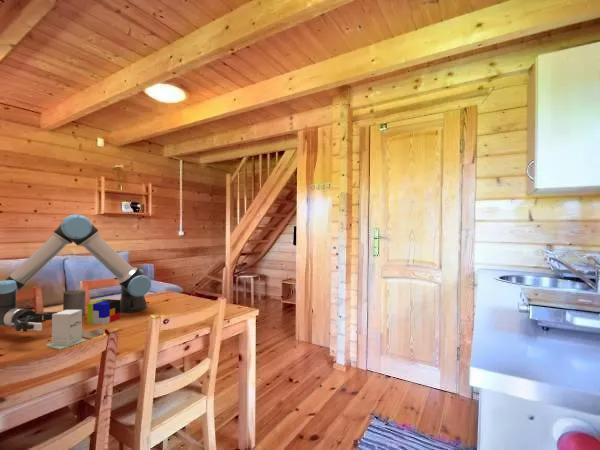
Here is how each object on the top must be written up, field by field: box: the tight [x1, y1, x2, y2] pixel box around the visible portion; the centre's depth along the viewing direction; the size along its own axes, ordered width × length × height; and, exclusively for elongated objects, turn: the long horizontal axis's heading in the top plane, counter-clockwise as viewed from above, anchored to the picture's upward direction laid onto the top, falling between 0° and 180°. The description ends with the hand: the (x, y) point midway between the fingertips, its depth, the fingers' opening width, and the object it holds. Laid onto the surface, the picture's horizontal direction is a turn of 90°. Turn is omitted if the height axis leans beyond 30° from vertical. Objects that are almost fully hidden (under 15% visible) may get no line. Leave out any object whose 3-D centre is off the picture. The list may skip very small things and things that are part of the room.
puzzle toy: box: [86, 298, 121, 325], centre depth 156 cm, size 10×10×10 cm
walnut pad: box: [82, 327, 106, 340], centre depth 136 cm, size 10×10×1 cm
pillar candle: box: [62, 288, 86, 318], centre depth 163 cm, size 10×10×15 cm
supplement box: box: [51, 310, 83, 345], centre depth 126 cm, size 7×7×13 cm
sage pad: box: [45, 338, 88, 351], centre depth 125 cm, size 10×10×1 cm
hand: (58, 321), depth 126 cm, fingers open, 13 cm apart
